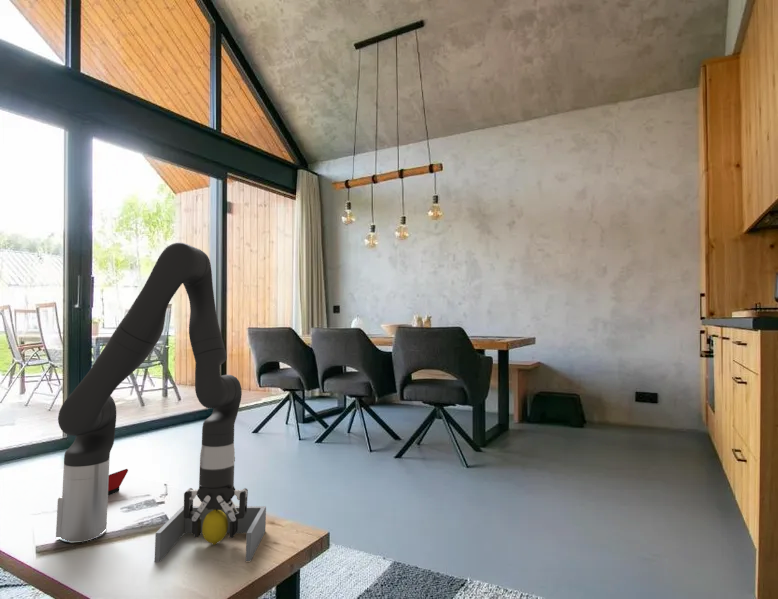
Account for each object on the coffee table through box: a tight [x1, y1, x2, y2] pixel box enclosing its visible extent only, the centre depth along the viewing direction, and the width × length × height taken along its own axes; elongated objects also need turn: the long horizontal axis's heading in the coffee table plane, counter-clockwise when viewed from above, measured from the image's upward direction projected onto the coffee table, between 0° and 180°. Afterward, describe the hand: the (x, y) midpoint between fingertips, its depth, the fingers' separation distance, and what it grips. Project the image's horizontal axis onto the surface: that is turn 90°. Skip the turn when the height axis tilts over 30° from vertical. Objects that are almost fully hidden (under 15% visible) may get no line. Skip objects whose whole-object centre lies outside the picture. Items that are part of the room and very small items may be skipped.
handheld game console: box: [108, 468, 129, 497], centre depth 139 cm, size 12×11×7 cm
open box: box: [153, 505, 267, 563], centre depth 110 cm, size 20×15×6 cm
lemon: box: [201, 509, 228, 546], centre depth 110 cm, size 6×6×8 cm
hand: (214, 536), depth 110 cm, fingers open, 7 cm apart
